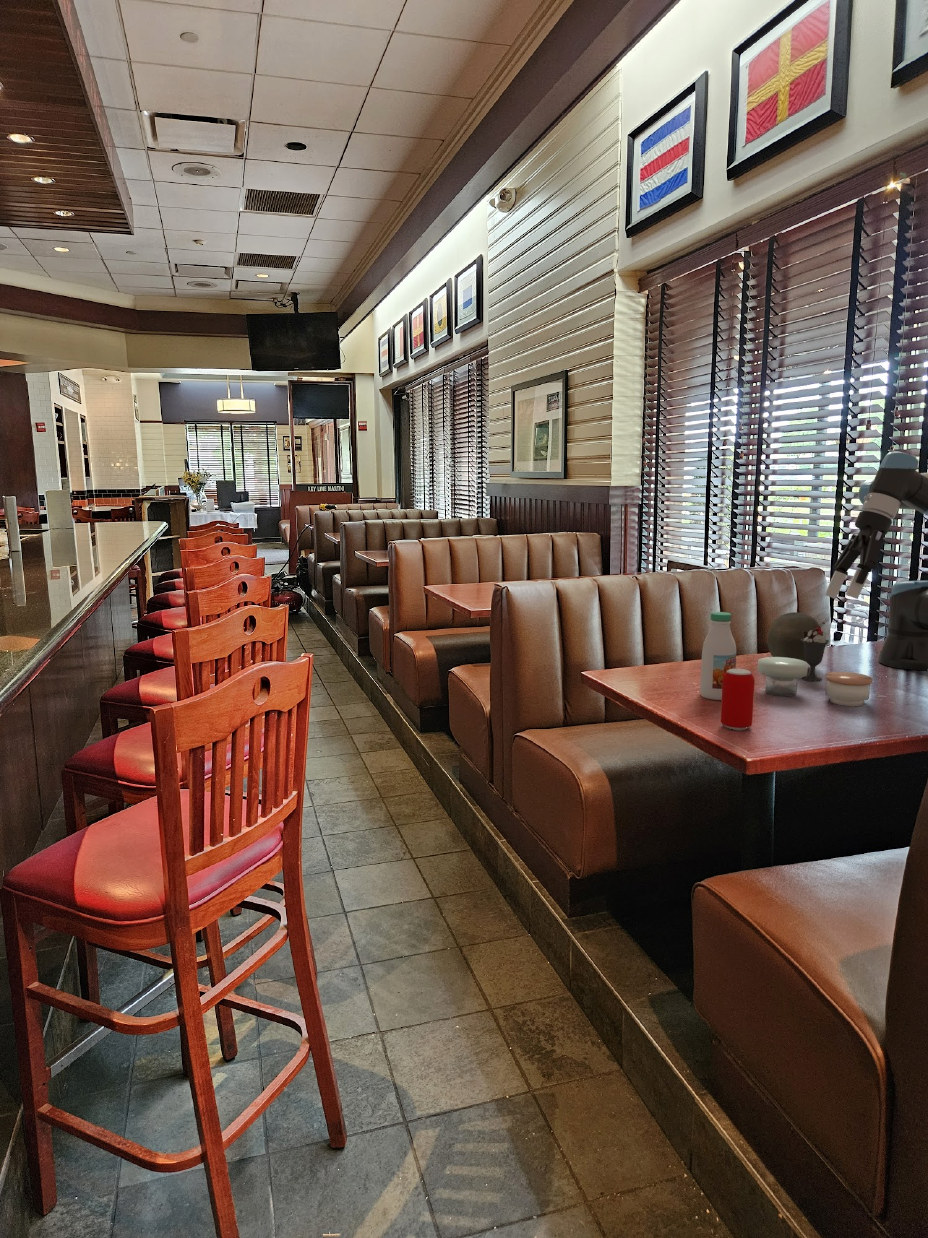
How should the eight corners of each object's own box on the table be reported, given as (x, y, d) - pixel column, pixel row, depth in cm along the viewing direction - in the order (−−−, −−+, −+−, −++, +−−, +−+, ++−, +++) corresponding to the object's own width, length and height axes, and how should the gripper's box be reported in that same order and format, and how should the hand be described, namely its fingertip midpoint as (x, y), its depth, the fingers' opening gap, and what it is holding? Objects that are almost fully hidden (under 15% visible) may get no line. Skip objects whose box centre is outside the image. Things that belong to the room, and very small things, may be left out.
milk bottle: (698, 699, 187) (702, 614, 184) (701, 691, 195) (705, 609, 191) (733, 702, 185) (737, 616, 181) (735, 694, 192) (739, 611, 188)
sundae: (829, 683, 201) (833, 624, 198) (800, 681, 202) (804, 623, 200) (823, 676, 207) (827, 619, 205) (795, 675, 209) (799, 618, 206)
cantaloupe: (754, 663, 222) (757, 610, 220) (799, 660, 225) (802, 607, 223) (785, 675, 209) (789, 618, 206) (832, 672, 212) (836, 616, 209)
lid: (787, 665, 198) (788, 655, 198) (817, 676, 188) (818, 665, 187) (748, 668, 196) (748, 658, 195) (776, 679, 185) (776, 668, 185)
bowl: (849, 695, 190) (851, 670, 189) (879, 706, 181) (882, 680, 180) (814, 698, 188) (816, 673, 187) (843, 709, 179) (845, 683, 178)
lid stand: (784, 687, 197) (785, 668, 196) (802, 695, 190) (804, 674, 189) (759, 689, 195) (760, 669, 194) (777, 697, 188) (778, 676, 188)
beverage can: (756, 731, 164) (760, 674, 162) (727, 732, 163) (730, 675, 161) (744, 722, 170) (747, 667, 168) (715, 723, 169) (718, 668, 167)
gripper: (842, 514, 206) (808, 591, 207) (884, 503, 181) (845, 590, 182) (870, 525, 205) (835, 602, 207) (916, 515, 181) (877, 602, 182)
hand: (840, 596), depth 194 cm, fingers open, 13 cm apart
